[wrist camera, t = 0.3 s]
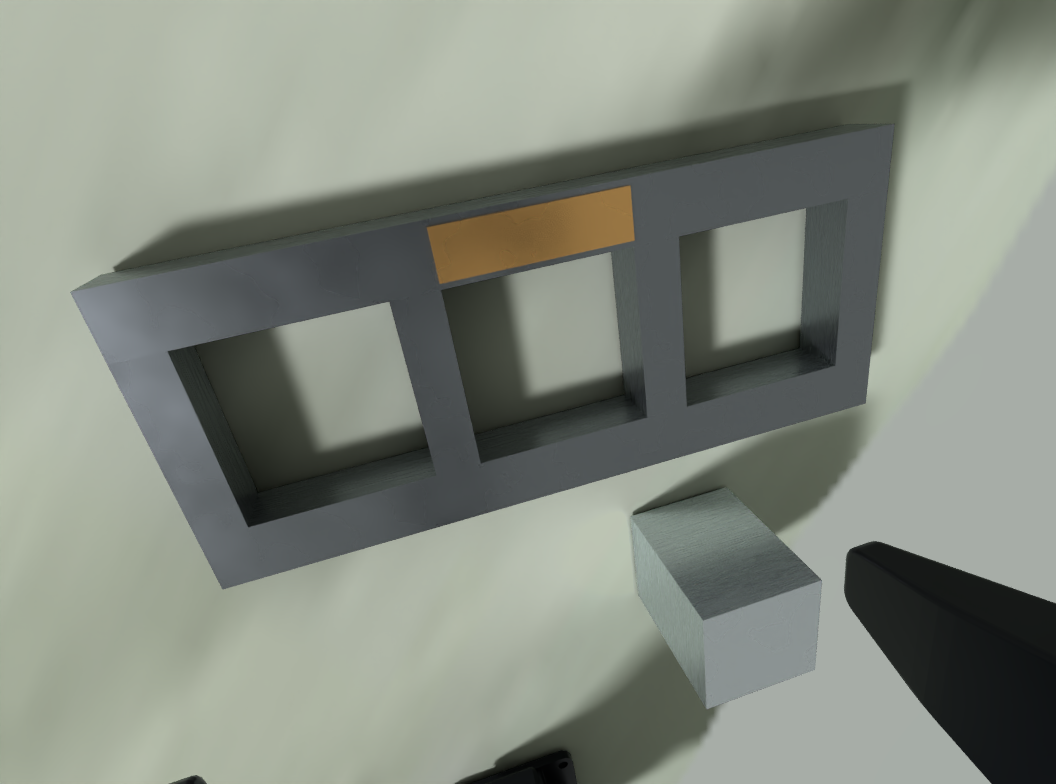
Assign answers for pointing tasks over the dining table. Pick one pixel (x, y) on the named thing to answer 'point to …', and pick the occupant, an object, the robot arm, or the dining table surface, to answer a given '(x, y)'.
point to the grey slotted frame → (420, 316)
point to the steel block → (726, 595)
